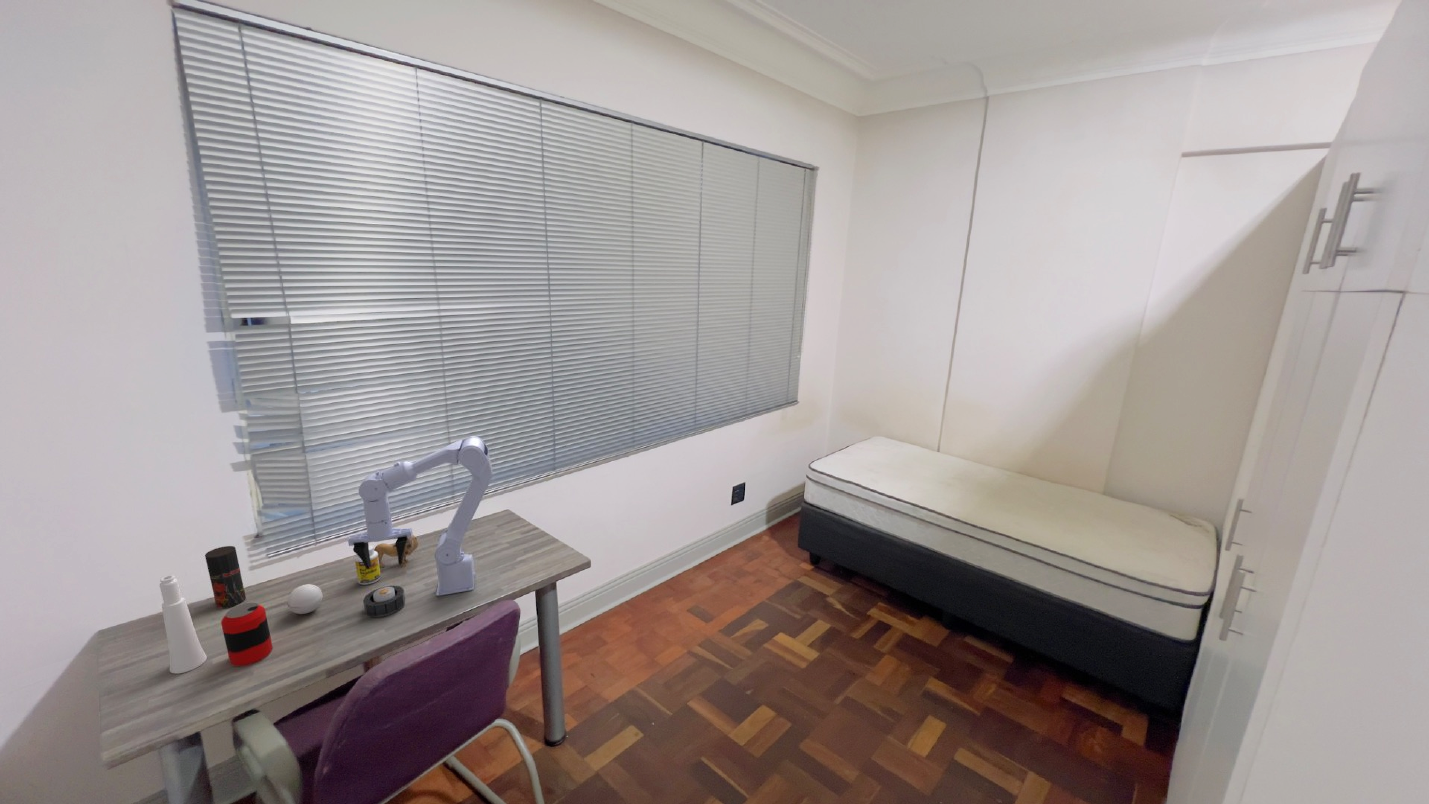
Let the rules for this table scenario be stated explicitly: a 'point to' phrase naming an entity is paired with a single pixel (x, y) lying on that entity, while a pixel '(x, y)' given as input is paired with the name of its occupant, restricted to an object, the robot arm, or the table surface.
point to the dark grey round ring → (384, 604)
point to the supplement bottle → (368, 574)
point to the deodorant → (225, 577)
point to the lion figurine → (392, 550)
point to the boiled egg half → (384, 594)
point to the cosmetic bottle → (179, 629)
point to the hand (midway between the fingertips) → (384, 564)
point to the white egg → (305, 599)
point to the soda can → (246, 634)
